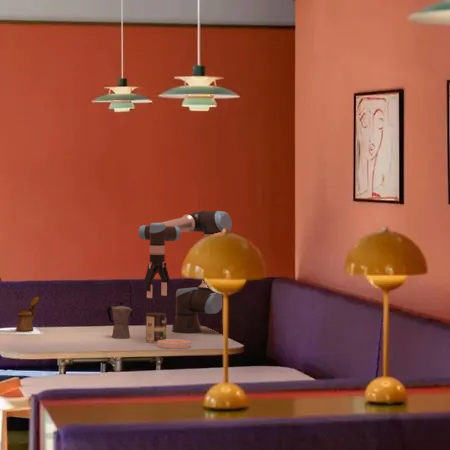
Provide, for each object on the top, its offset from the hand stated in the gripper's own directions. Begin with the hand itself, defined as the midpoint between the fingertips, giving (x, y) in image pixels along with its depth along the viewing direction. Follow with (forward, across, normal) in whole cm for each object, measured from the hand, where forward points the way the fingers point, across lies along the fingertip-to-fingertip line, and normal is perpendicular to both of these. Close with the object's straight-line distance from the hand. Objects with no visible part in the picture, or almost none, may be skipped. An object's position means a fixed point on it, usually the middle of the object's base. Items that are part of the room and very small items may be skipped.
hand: (156, 296), depth 596 cm
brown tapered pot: (+23, 0, -79) cm, 82 cm away
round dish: (+22, +9, +16) cm, 29 cm away
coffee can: (+23, 0, 0) cm, 23 cm away
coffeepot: (+23, -3, -24) cm, 33 cm away
